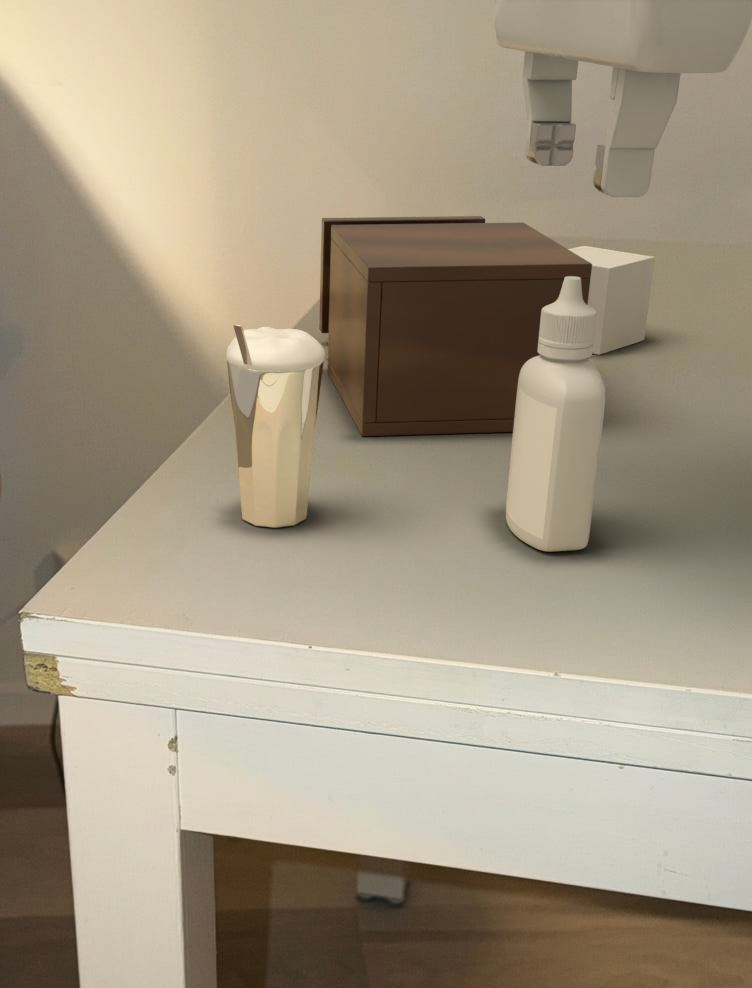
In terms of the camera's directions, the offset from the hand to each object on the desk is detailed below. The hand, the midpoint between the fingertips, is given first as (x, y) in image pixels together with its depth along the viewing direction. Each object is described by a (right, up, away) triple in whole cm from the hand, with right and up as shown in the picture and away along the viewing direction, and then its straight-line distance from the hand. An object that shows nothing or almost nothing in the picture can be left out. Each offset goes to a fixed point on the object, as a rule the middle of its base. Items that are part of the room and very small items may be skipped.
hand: (580, 178), depth 55 cm
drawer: (-4, +2, +37) cm, 37 cm away
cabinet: (-2, -4, +27) cm, 27 cm away
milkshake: (-13, -14, +9) cm, 21 cm away
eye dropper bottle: (0, -14, +7) cm, 16 cm away
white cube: (+10, +2, +41) cm, 42 cm away
